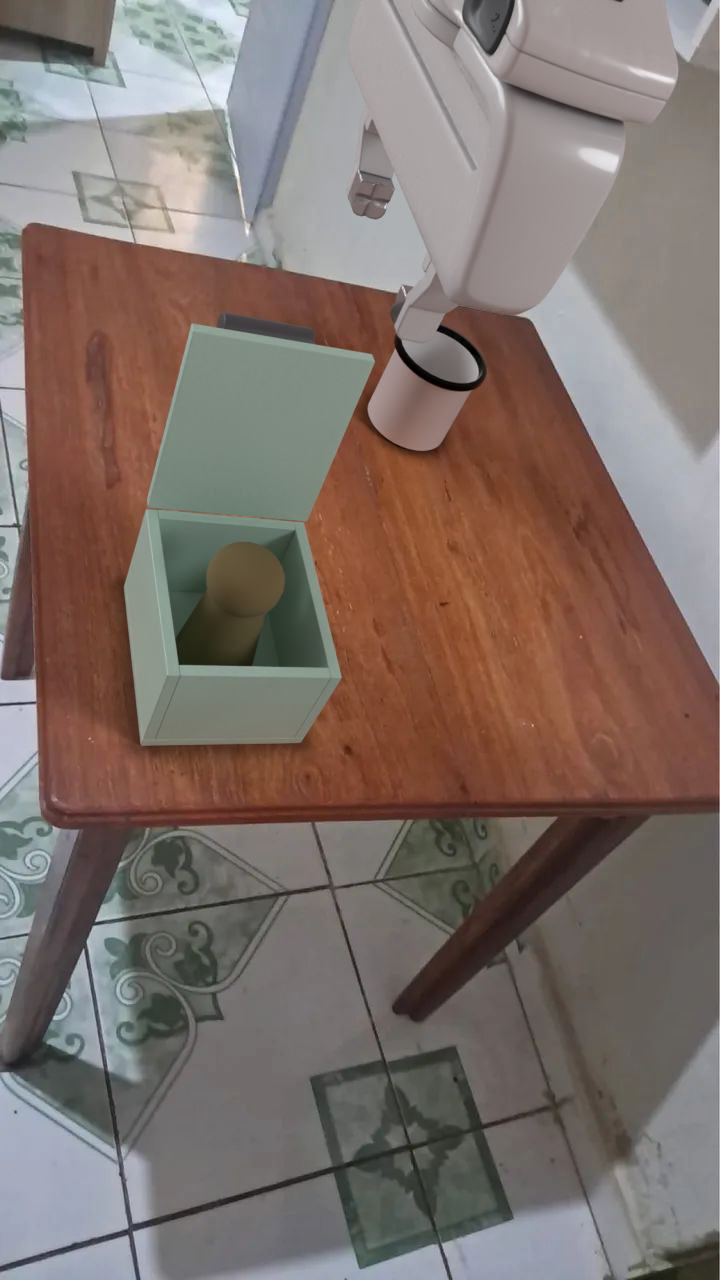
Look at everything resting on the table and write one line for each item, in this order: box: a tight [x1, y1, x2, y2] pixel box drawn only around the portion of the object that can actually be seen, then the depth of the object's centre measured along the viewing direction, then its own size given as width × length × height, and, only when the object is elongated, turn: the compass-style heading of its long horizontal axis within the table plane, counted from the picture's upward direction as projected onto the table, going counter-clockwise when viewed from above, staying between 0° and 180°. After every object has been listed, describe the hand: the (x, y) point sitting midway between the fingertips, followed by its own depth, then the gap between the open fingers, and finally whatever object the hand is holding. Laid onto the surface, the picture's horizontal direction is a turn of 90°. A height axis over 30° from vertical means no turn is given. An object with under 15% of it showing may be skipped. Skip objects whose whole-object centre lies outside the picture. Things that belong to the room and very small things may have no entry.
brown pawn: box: [175, 542, 285, 666], centre depth 66 cm, size 6×6×11 cm
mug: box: [367, 323, 488, 452], centre depth 94 cm, size 12×10×9 cm
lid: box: [146, 311, 376, 522], centre depth 64 cm, size 14×12×5 cm
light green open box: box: [123, 508, 343, 747], centre depth 67 cm, size 14×12×9 cm
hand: (383, 267), depth 45 cm, fingers open, 8 cm apart
